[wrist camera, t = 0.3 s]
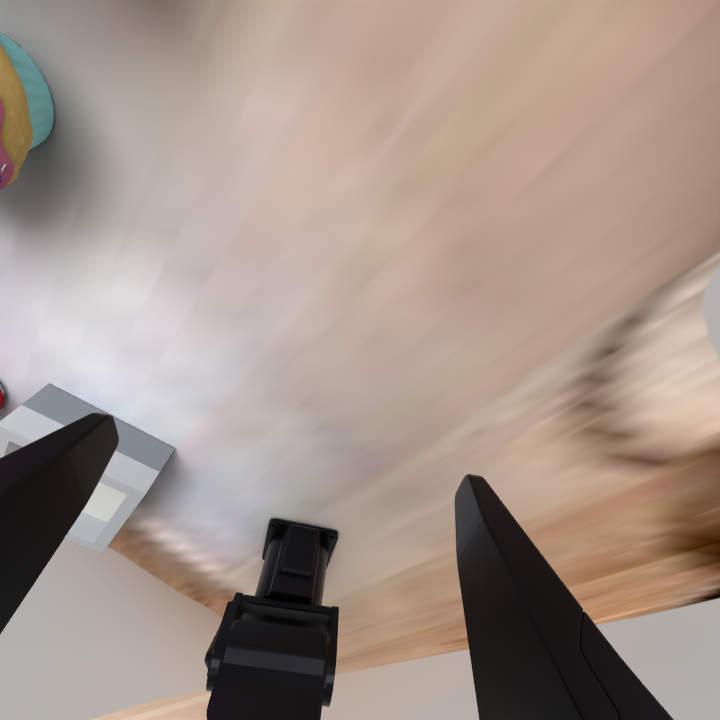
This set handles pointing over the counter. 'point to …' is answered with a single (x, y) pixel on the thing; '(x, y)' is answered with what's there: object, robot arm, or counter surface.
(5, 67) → the cupcake
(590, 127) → the counter surface
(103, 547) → the socket block
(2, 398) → the soda can
